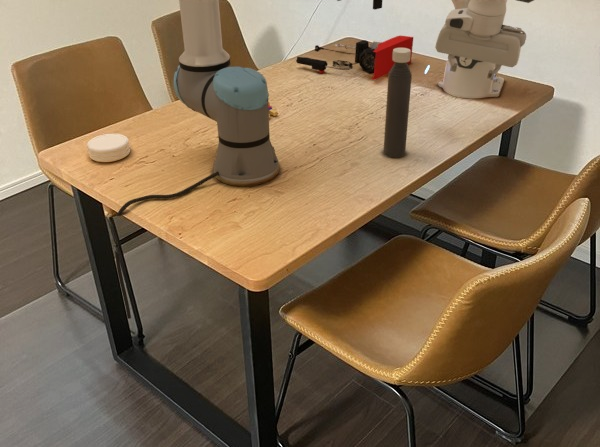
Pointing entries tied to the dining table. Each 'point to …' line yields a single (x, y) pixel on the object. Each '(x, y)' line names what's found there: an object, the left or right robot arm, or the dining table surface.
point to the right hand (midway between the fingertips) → (471, 74)
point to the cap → (401, 55)
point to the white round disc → (108, 147)
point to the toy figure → (271, 111)
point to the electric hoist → (366, 56)
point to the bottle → (397, 110)
